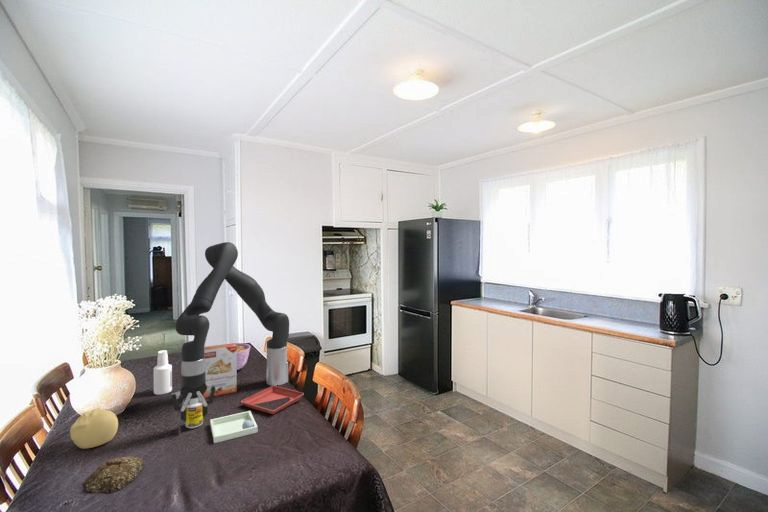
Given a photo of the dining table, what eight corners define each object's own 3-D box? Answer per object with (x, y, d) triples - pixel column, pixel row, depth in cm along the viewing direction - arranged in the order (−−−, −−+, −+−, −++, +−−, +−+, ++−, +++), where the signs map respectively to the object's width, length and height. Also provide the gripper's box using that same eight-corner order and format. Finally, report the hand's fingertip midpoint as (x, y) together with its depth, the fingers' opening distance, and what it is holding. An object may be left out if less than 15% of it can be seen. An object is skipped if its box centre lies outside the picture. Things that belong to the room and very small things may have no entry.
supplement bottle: (186, 430, 121) (185, 401, 121) (184, 423, 126) (184, 395, 125) (204, 426, 124) (203, 397, 124) (202, 419, 129) (201, 392, 128)
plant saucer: (239, 408, 140) (239, 400, 140) (273, 392, 156) (273, 384, 156) (272, 419, 132) (272, 410, 132) (304, 400, 148) (304, 393, 148)
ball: (251, 427, 124) (251, 417, 124) (253, 431, 121) (253, 421, 121) (241, 429, 122) (241, 419, 122) (243, 434, 119) (243, 424, 119)
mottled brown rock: (151, 464, 104) (151, 448, 104) (121, 494, 92) (121, 475, 91) (107, 465, 104) (107, 448, 103) (71, 494, 91) (71, 476, 91)
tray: (250, 417, 132) (250, 410, 132) (257, 433, 121) (257, 426, 121) (210, 426, 125) (210, 419, 125) (214, 445, 114) (214, 437, 114)
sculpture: (80, 437, 118) (79, 405, 117) (123, 431, 122) (122, 400, 122) (63, 456, 107) (62, 421, 107) (110, 449, 111) (110, 415, 111)
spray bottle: (175, 388, 158) (175, 349, 157) (164, 395, 151) (164, 353, 150) (161, 388, 158) (161, 348, 158) (149, 394, 152) (149, 353, 151)
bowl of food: (198, 374, 175) (198, 351, 175) (227, 362, 194) (227, 341, 194) (232, 379, 169) (232, 355, 169) (258, 366, 188) (258, 344, 188)
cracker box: (201, 399, 147) (201, 350, 147) (200, 394, 152) (200, 346, 152) (237, 392, 155) (237, 345, 154) (234, 387, 160) (234, 342, 159)
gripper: (214, 364, 131) (215, 408, 132) (169, 371, 124) (170, 418, 124) (217, 370, 125) (217, 417, 125) (169, 378, 117) (170, 428, 118)
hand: (194, 417), depth 125 cm, fingers closed on supplement bottle, 5 cm apart
